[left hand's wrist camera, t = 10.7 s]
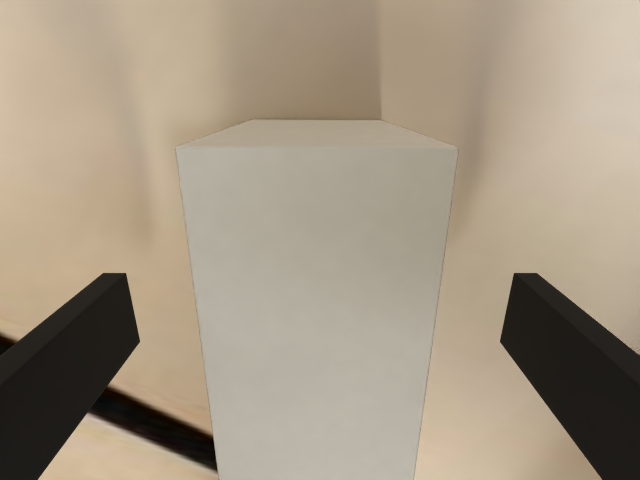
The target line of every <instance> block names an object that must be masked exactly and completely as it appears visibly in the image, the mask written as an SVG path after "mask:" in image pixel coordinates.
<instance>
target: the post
mask: <svg viewBox="0 0 640 480" xmlns="http://www.w3.org/2000/svg"><path fill="white" fill-rule="evenodd" d="M175 151H176V159H177V166H178V174H179V182H180V189H181V197H182V204H183V212H184V219H185V227H186V234H187V242H188V249H189V257H190V265H191V272H192V280H193V287H194V295H195V302H196V310H197V317H198V325H199V332H200V340H201V348H202V355H203V363H204V370H205V378H206V385H207V393H208V400H209V408H210V416H211V423H212V431H213V438H214V446H215V453H216V461H217V468H218V476H219V480H414V474H415V467H416V460H417V452H418V445H419V438H420V430H421V423H422V416H423V408H424V401H425V394H426V386H427V379H428V372H429V364H430V357H431V350H432V343H433V335H434V328H435V321H436V313H437V306H438V299H439V291H440V284H441V277H442V269H443V262H444V255H445V247H446V240H447V233H448V225H449V218H450V211H451V204H452V196H453V189H454V182H455V174H456V167H457V160H458V152H459V149H458V147H455V146H453V145H450V144H447V143H444V142H441V141H439V140H436V139H433V138H430V137H427V136H425V135H422V134H419V133H416V132H413V131H411V130H408V129H405V128H402V127H399V126H397V125H394V124H391V123H388V122H385V121H383V120H266V119H252V120H249V121H246V122H243V123H240V124H238V125H235V126H232V127H229V128H226V129H224V130H221V131H218V132H215V133H212V134H209V135H207V136H204V137H201V138H198V139H195V140H193V141H190V142H187V143H184V144H181V145H178V146H176V148H175Z"/></svg>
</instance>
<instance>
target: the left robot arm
mask: <svg viewBox="0 0 640 480" xmlns="http://www.w3.org/2000/svg"><path fill="white" fill-rule="evenodd" d="M139 342H140V339H139V334H138V329H137V325H136V320H135V315H134V310H133V305H132V300H131V295H130V290H129V286H128V281H127V276H126V273H103V274H102V275H100V276H99V277H98V278H97V279H95V280H94V281H93V282H92V283H90V284H89V285H88V286H87V287H85V288H84V289H83V290H82V291H80V292H79V293H78V294H77V295H75V296H74V297H73V298H72V299H70V300H69V301H68V302H67V303H65V304H64V305H63V306H62V307H60V308H59V309H58V310H57V311H56V312H54V313H53V314H52V315H51V316H49V317H48V318H47V319H46V320H44V321H43V322H42V323H41V324H39V325H38V326H37V327H36V328H34V329H33V330H32V331H31V332H29V333H28V334H27V335H26V336H24V337H23V338H22V339H21V340H19V341H18V342H17V343H16V344H14V345H13V346H12V347H11V348H9V349H8V350H7V351H6V352H4V353H3V354H2V355H1V356H0V480H38V478H39V477H40V476H41V474H42V473H43V472H44V470H45V469H46V468H47V466H48V465H49V464H50V462H51V461H52V460H53V458H54V457H55V456H56V454H57V453H58V452H59V450H60V449H61V447H62V446H63V445H64V443H65V442H66V441H67V439H68V438H69V437H70V435H71V434H72V433H73V431H74V430H75V429H76V427H77V426H78V425H79V423H80V422H81V421H82V419H83V418H84V416H85V415H86V414H87V412H88V411H89V410H90V408H91V407H92V406H93V404H94V403H95V402H96V400H97V399H98V398H99V396H100V395H101V394H102V392H103V391H104V390H105V388H106V387H107V386H108V384H109V383H110V381H111V380H112V379H113V377H114V376H115V375H116V373H117V372H118V371H119V369H120V368H121V367H122V365H123V364H124V363H125V361H126V360H127V359H128V357H129V356H130V355H131V353H132V352H133V350H134V349H135V348H136V346H137V345H138V344H139ZM500 342H501V344H502V345H503V346H504V348H505V349H506V350H507V352H508V353H509V355H510V356H511V357H512V359H513V360H514V361H515V363H516V364H517V365H518V367H519V368H520V369H521V371H522V372H523V373H524V375H525V376H526V377H527V379H528V380H529V381H530V383H531V384H532V386H533V387H534V388H535V390H536V391H537V392H538V394H539V395H540V396H541V398H542V399H543V400H544V402H545V403H546V404H547V406H548V407H549V408H550V410H551V411H552V412H553V414H554V415H555V416H556V418H557V419H558V421H559V422H560V423H561V425H562V426H563V427H564V429H565V430H566V431H567V433H568V434H569V435H570V437H571V438H572V439H573V441H574V442H575V443H576V445H577V446H578V447H579V449H580V450H581V452H582V453H583V454H584V456H585V457H586V458H587V460H588V461H589V462H590V464H591V465H592V466H593V468H594V469H595V470H596V472H597V473H598V474H599V476H600V477H601V478H602V480H640V355H638V354H637V353H636V352H634V351H633V350H632V349H631V348H629V347H628V346H627V345H626V344H624V343H623V342H622V341H621V340H619V339H618V338H617V337H616V336H614V335H613V334H612V333H611V332H609V331H608V330H607V329H606V328H604V327H603V326H602V325H601V324H599V323H598V322H597V321H596V320H594V319H593V318H592V317H591V316H589V315H588V314H587V313H586V312H585V311H583V310H582V309H581V308H580V307H578V306H577V305H576V304H575V303H573V302H572V301H571V300H570V299H568V298H567V297H566V296H565V295H563V294H562V293H561V292H560V291H558V290H557V289H556V288H555V287H553V286H552V285H551V284H550V283H548V282H547V281H546V280H545V279H543V278H542V277H541V276H540V275H538V274H537V273H514V276H513V281H512V286H511V290H510V295H509V300H508V305H507V310H506V315H505V320H504V325H503V329H502V334H501V339H500Z"/></svg>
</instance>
